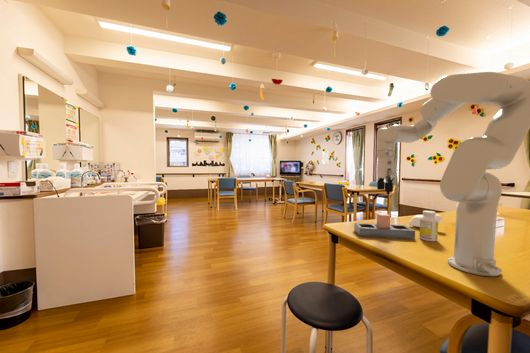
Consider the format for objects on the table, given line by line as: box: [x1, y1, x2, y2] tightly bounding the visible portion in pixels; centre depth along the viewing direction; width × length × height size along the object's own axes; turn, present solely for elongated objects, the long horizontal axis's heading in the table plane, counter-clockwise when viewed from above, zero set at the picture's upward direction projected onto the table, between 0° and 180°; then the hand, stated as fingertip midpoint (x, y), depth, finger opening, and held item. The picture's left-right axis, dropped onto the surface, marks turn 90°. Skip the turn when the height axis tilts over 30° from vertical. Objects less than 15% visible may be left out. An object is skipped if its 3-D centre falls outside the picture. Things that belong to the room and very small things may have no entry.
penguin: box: [407, 213, 444, 228], centre depth 120 cm, size 9×8×15 cm
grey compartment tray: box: [353, 222, 416, 240], centre depth 108 cm, size 10×24×4 cm, turn 82°
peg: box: [376, 212, 391, 228], centre depth 108 cm, size 4×4×10 cm
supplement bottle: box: [419, 210, 439, 242], centre depth 102 cm, size 7×7×13 cm
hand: (384, 190), depth 107 cm, fingers open, 9 cm apart
